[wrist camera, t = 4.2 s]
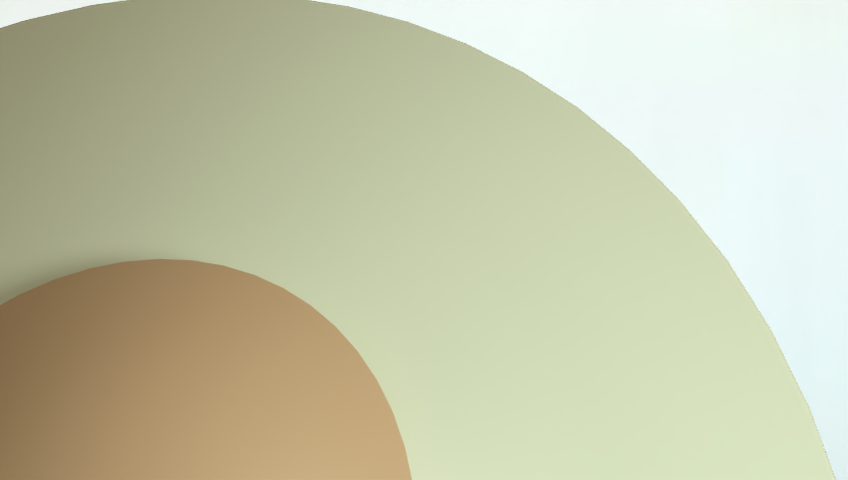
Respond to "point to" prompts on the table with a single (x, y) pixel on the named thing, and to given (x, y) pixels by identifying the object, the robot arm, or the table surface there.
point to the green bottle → (352, 266)
